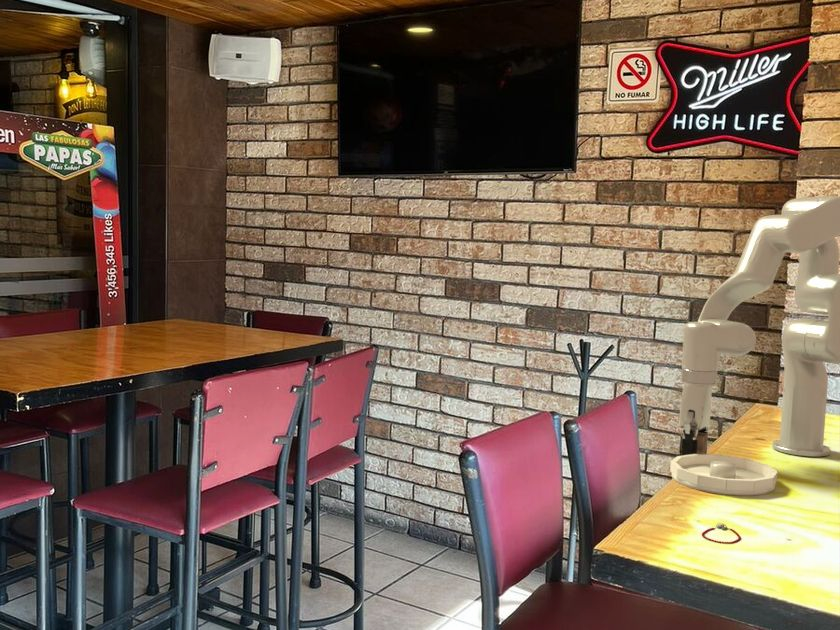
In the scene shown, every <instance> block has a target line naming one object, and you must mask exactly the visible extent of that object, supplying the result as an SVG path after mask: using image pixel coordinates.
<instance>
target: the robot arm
mask: <svg viewBox="0 0 840 630" xmlns="http://www.w3.org/2000/svg"><path fill="white" fill-rule="evenodd" d="M838 236H840V195H829V196H828V195H826V196H803V197H797V198H796V197H795V198H791V199H790V200H788V201H786V202H785V203H784V204H783V206H782V208H781V214H771V215H765V216H762V217H760V218H759V219H758V220H757V221H756V222H754V224H753V227H752V229H751V231H750V234H749V235H748V238H747V241H746V243H745V246H744V248H743V251H742V254H740V259H739V260H738V262H737V265H736V267H735V270H734V272H733V273H732V274H731V276H730V277H728V278H727V279H726V280H725V281H724V282H723V283H722V284H721V285H720V286H719V287H718V288H717V289H716V290H715V291H714V292H713V293H712V294H711V295H710V296H709V297H708V298H707V300H706V302H705V303H704V305H703V308H702V310H701V312H700V315H699V317H698V319H697V321H689V322H687V323H686V324H685V325H684V329H683V341H682V342H683V343H682V358H681V359H682V360H681V374H680V375H681V376H680V377H681V378H680V383H681V384H683V387H682V393H681V400H680V407H679V419H678V426H679V427H680V429H683V428H684V429H683V431H682V439H681V455H680V456H683V455H690V454H697V445H698V440H696V438H697V434H698V432H701V433H708V434H709V432H708V430H709V424H710V421H711V413H712V412H711V411H712V395H713V393H712V392H713V391H712V390H713V389H712V387H716V386H717V379H718V378H717V376H718V361H719V355H728V356H734V357H739V356H744V355H747V354H748V353H750V352H751V351H752V350H753V349H754V347H755V345H756V343H757V342H756V341H757V336H756V333H755V331H754V329H752V327H751V326H750V325H747V324H746V323H742V322H738V321H731V320H728V319H729V317H730V315H731V314H732V312H733V311H734V310H735V308H736V307H738V306H739V305H740V304H741V303H743V302H745V301H746V300H748V299H750V298H752V297H755V296H757V295H759V294H762V293H764V292H766V291H768V290H769V289H770V288H772V286H773V284H774V280H775V278H776V276H777V273H778V271H779V268H780V266H781V263H782V261H783V259H784V257H785V254H786V253H795V254H796V253H798V254H799V261H798V271H797V276H796V284H795V289H794V290H795V292H794V300H795V301H794V302H795V305H796V306H797V308H798V309H800V310H801V311H804V312H806V313H812V314H818V315H827V316H828V317H827V318H828V319H827V320H824V319H815V318H806V317H803V318H796V319H794V320H791V321H790V322H789V323H787V324H786V326H785V327H784V329H783V331H782V334H781V335H782V336H781V347H782V353H783V361H784V362H783V363H784V366H783V367H784V371H783V373H784V374H783V387H782V391H783V392H782V403H781V416H780V417H781V418H780V431H779V432H780V433H779V439H777V440H775V441H772V448H773V450H775V451H778V452H780V453H781V452H782V453H784V454H788V455H793V456H802V457H813V458H815V457H817V458H819V457H826V456H829V455H830V454H831V449H830V447H829V446H827V445H825V444H824V441H825V440H824V438H825V427H826V426H825V425H826V414H827V413H826V412H827V411H826V410H827V401H828V400H827V398H828V397H827V395H828V388H829V387H828V386H829V377H828V372H827V368H826V366H825V364H824V363H829V364H834V365H840V273H839V268H840V248H839V243H838V242H837V240H836V238H837V237H838ZM693 432H694V434H693Z"/></svg>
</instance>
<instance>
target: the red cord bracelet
mask: <svg viewBox="0 0 840 630" xmlns="http://www.w3.org/2000/svg"><path fill="white" fill-rule="evenodd" d="M716 528H717V529H720V530H722V531H726V530H729V531H730V532H732V533H734V534H735V535H736V536H737V537H738V538H737V539H735V540H732V541H721V540H720V541H719V540H714V539H712V538H709V537H707V536H706V535H705V534H707V533H708V532H710V531H713V530H716ZM701 537H702V538H704V539H705V540H706V541H710V542H712V543H716V544H717V543H718V544H725V545H731V544H736V543H738V542H740V541H741V540H742V537H741V535H740V534H739V533H738V532H737V531H736V530H734V529H733V528H729V527H727V525H726V524H724V523H720V522H717V523H716V527H710V528H707V529H706V530H704V531H703V532H701Z"/></svg>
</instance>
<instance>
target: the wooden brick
mask: <svg viewBox="0 0 840 630" xmlns="http://www.w3.org/2000/svg"><path fill="white" fill-rule="evenodd" d="M693 434H694V432H693ZM708 437H709V432H708V433H701V432H698V434H697V438H696V440H698V445H697V454H707V452H708Z"/></svg>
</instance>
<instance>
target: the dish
mask: <svg viewBox="0 0 840 630" xmlns="http://www.w3.org/2000/svg"><path fill="white" fill-rule="evenodd" d="M669 466H670V467H669V468H670V469H669V472H671V478H672V479H673V480H674V481H675V482H677V483H678V484H680V485H683V486H685V487H687V488H691V489H694V490H698V491H702V492H706V493H710V494H716V495H717V494H719V495H726V496H727V495H729V496H739V495H740V496H743V497H744V496H751V497H753V496H760V495H761V496H762V495H765V494H766V495H767V494H770V493H773V491H775V489H776V484H777V482H778V473H779V472H778V471H777V470H776V469H774V468H772V467H771V466H770V465H768V464H767V463H763V462H759V461H757V460H753V459H749V458H745V457H738V456H732V455H725V454H714V453H713V454H712V453H710V454H709V453H708V454H690V455H683V456H682V455H677V456H676V457H674V458H673V459H672V460H670V465H669ZM740 496H739V497H740Z"/></svg>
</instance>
